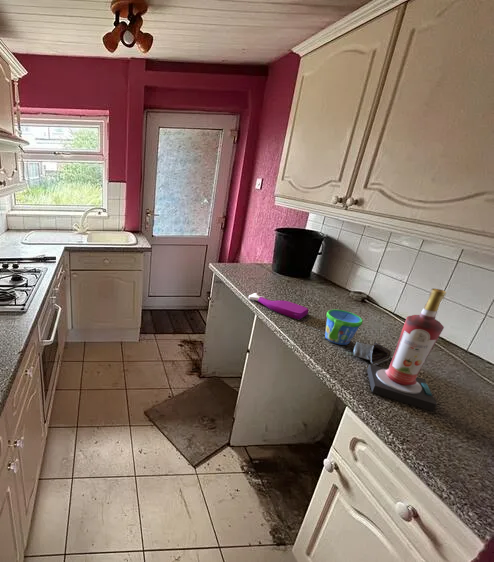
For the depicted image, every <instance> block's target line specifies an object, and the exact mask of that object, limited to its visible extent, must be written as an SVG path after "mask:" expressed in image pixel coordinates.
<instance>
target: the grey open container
mask: <svg viewBox="0 0 494 562" xmlns="http://www.w3.org/2000/svg"><path fill="white" fill-rule="evenodd" d="M392 353H393V352H392V350H391V349H389V348H387V347H385V346H383V345H381V344H379V343H377V342H374V343H373V344H369V343H366V342H362V341H361V342H360V341H356V342H355V345H354V347H353V356H354V357H356V358H361V359H364V360H367V361H369V362H370V364H371V365H375V366H378V365H380V364H382V363H384V362H387V361H390V360H391V358H392V356H393V355H392Z"/></svg>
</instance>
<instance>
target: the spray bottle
mask: <svg viewBox="0 0 494 562" xmlns="http://www.w3.org/2000/svg"><path fill="white" fill-rule="evenodd" d="M248 300H253V301H257V303H259V304H261V305H262V306H264V307H266V308H268V309H269V310H271V311H273V312H275V313H277V314H280V315H283V316H286V317H287V318H292V319H295V320H301V319H302V318H305V317H306V316H308V314H309V308H307V307H305V306H303V305H300V304H298V303H295V302H291V301H288V300H284V299H283V300H280V299H279V300H271V299H268V298H265V296H262V295H259V294H258V292H254V293H252V294H249V295H248Z"/></svg>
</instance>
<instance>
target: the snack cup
mask: <svg viewBox="0 0 494 562" xmlns="http://www.w3.org/2000/svg"><path fill="white" fill-rule="evenodd" d="M363 322H364V320H363V318H362V317H361V316H359V315H358V314H357V313H353V312H350V311H348V310H343V309H334V308H333V309H329V310H328V311H327V312H326V323H325V333H324V335H325V339H326V340H328V341H329V342H331V343H332V344H336V345H341V346H347V345H349V344H350V343H351V341H352V339H354V336H355V334H356V333H357V332H358V329H359V328H360V327H361V326H362V325H363Z"/></svg>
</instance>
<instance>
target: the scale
mask: <svg viewBox="0 0 494 562" xmlns="http://www.w3.org/2000/svg"><path fill="white" fill-rule="evenodd" d="M387 369H388V368H386V367H381V366H378V365H372V364H371V363H369V364H368V367H367V370H366V372H367V376H368V381H369V386H370V390H371V394H375V395H377V396H381V397H385V398H388V399H391V400H394V401H397V402H401V403H404V404H408V405H410V406H413V407H417V408H420V409H424V410H427V411H430V412H432V413H433V412H434V411H435V409H436V407H437V402H436V400H435V398H434V396H433V394H432V391H431V389H430V387H429V386H428V385H429V384H428V383H427V381H426V379H425V378H422V377H418V376H417V378H416V381H417V383H416V384H414V385H400V384H397V383H395V382H393V381H392V380H390V378H389V377H388V376H387V374H386V373H385V371H386V370H387Z"/></svg>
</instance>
